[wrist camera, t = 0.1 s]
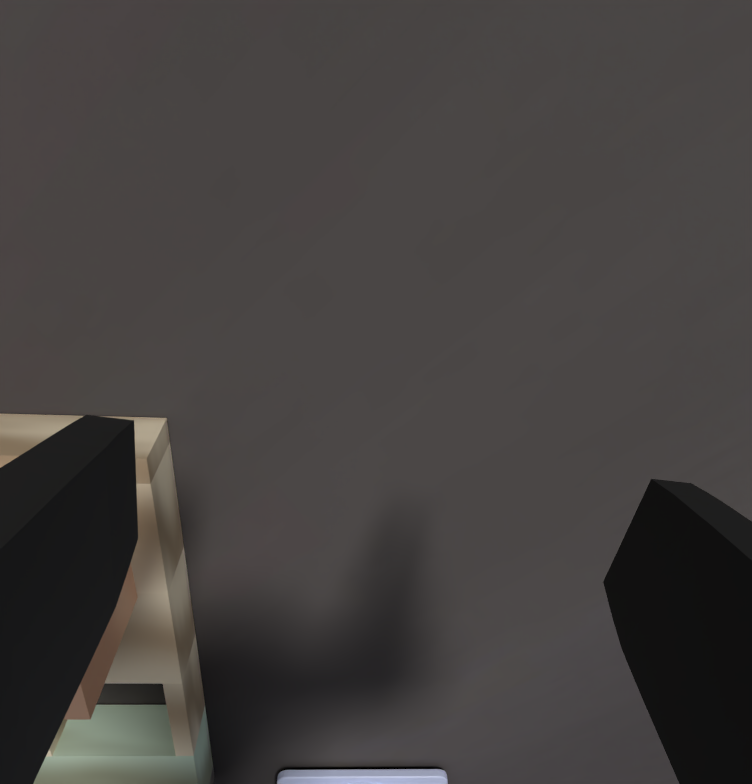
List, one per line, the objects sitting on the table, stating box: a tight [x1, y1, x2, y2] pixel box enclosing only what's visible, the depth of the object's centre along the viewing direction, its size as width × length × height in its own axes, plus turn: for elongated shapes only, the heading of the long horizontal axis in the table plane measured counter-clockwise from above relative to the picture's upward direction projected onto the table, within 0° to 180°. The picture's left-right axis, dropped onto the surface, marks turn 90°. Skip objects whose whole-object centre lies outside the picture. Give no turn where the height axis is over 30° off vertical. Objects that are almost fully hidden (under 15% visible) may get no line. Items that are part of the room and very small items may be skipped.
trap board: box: [0, 414, 215, 784], centre depth 22 cm, size 20×12×4 cm, turn 177°
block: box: [63, 563, 138, 720], centre depth 17 cm, size 4×4×4 cm
